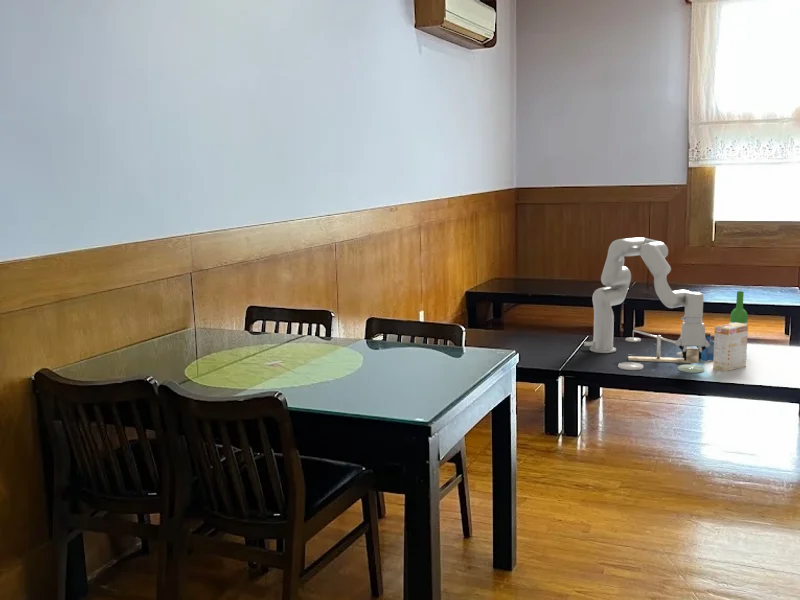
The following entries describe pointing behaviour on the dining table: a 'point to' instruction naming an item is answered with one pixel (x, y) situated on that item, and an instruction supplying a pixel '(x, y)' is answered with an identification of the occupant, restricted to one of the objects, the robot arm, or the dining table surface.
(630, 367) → the white dish
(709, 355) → the perfume bottle
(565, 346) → the dining table surface
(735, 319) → the wine bottle
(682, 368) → the sage dish
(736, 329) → the coffeecake box
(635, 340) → the balance scale
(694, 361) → the birch block
